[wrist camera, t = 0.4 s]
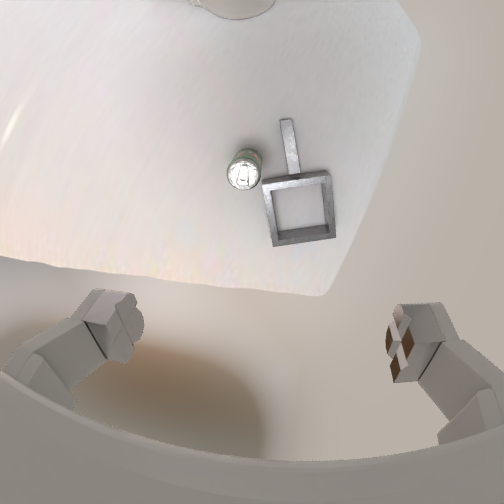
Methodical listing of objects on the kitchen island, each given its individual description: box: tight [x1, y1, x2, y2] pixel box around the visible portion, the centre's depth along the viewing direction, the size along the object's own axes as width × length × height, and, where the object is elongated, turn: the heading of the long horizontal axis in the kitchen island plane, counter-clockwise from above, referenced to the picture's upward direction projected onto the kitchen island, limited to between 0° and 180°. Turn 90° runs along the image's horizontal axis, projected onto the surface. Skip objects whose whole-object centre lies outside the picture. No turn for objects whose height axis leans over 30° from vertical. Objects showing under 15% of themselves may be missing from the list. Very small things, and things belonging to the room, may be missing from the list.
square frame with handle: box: [262, 119, 336, 247], centre depth 50 cm, size 23×12×4 cm, turn 11°
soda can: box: [227, 149, 262, 190], centre depth 45 cm, size 5×5×12 cm
